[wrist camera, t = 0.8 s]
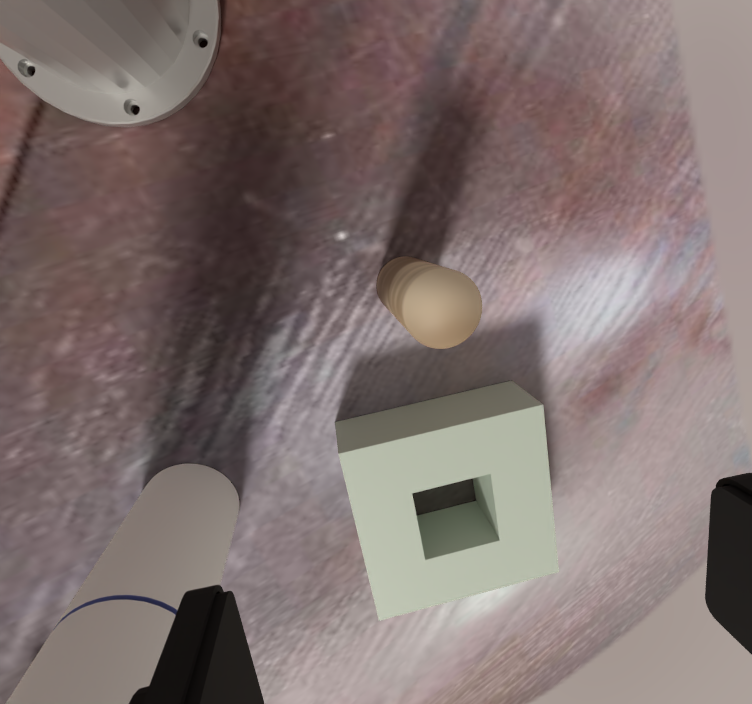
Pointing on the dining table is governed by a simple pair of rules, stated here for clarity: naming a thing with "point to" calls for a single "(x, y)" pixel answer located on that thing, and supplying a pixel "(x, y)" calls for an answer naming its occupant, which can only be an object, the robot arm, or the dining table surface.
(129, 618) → the cylindrical container
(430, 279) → the maple peg
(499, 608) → the dining table surface
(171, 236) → the dining table surface
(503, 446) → the socket block
